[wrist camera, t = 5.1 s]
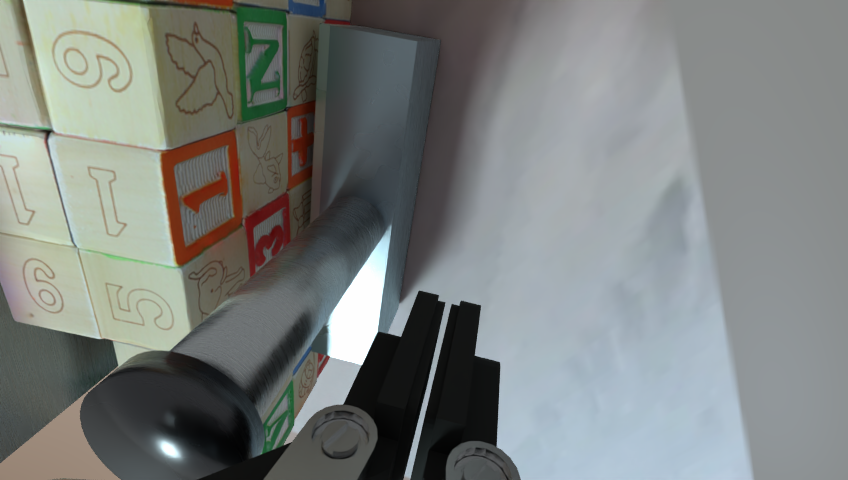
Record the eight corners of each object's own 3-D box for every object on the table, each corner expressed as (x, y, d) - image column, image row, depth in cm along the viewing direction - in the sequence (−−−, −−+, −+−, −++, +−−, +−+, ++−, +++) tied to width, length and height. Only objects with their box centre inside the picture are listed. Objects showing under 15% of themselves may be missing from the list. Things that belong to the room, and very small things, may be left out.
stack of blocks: (339, 347, 28) (222, 555, 16) (245, 327, 28) (73, 512, 17) (355, -64, 18) (114, -215, 7) (215, -78, 19) (-198, -236, 8)
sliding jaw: (443, 40, 19) (226, 53, 5) (399, 308, 25) (248, 659, 11) (362, 25, 19) (-58, -3, 5) (339, 293, 25) (117, 614, 11)
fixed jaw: (219, -52, 19) (-628, -299, 5) (232, 293, 27) (-82, 578, 13) (66, -78, 20) (-1050, -357, 6) (122, 265, 28) (-290, 505, 14)
